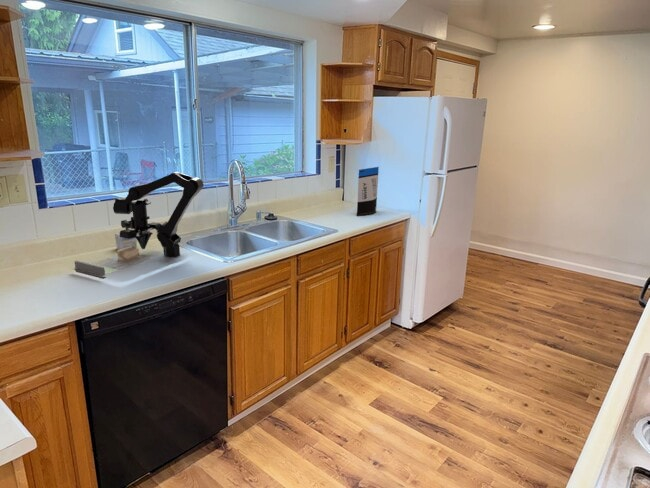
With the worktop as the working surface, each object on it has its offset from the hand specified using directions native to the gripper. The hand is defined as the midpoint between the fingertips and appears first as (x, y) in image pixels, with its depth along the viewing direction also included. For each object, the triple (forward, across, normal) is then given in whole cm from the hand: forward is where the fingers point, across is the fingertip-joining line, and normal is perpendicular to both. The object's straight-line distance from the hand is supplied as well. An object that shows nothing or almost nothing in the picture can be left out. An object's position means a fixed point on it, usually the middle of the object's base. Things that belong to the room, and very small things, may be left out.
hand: (143, 248), depth 197 cm
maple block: (+2, +8, 0) cm, 8 cm away
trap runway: (+4, +15, 0) cm, 15 cm away
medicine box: (+4, -3, -14) cm, 15 cm away
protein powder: (+4, -140, +52) cm, 149 cm away
